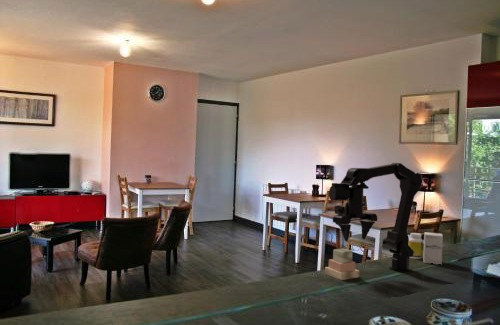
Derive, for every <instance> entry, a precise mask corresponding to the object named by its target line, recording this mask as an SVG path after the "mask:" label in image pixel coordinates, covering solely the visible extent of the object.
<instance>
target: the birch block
mask: <svg viewBox="0 0 500 325" xmlns="http://www.w3.org/2000/svg"><path fill="white" fill-rule="evenodd" d="M324 274H325V275H327V276H330V277H332V278H335V279H336V280H340V281H343V280H344V281H345V280H350V279H357V278H360V270H358V269H357V268H355V271H346V272H338V271H336V270H333V269H331V268H329V266H325V267H324Z"/></svg>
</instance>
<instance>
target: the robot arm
mask: <svg viewBox="0 0 500 325" xmlns="http://www.w3.org/2000/svg"><path fill="white" fill-rule="evenodd" d="M345 174H346V175H345V176H344V177H343V179H342V180H341V182H340V183H339V182H331V186H330V187H329V191H328V197H329V199H330V201H332V202H335V201H339V202H340V201H346V202H345V203H344V204H345V205H344V206H342V205H335V206H334V209H333V210H334V214H335V215H333V216H332V223H335V224H334V225H338V227H339V228H340V231H341V233H342V236H343V240H344V241H345V242H348V241H349V238H350V232H351V227H352V224H351V222H352V221H353V222H354V221H358V222H359V223H360V225H361V239H362V240H365V239H366V237H367V236H368V234H369V232H370V230H371V229H372V227H373V225H374V224H375V223H376V222H377V221H378V215H377V213H374V212H364V207H366V205H367V204H366V202H364V190H368V189H369V186H368V185H367V184H366V183H365V182H368V181H369V180H371V179H373V178H378V177H383V176H388V175H393V176H395V179H397V180H398V181H399V190H400V192H401V195H400V198H399V199H400V200H399V204H398V209H397V214H396V218H395V222H394V226H393V228H392V229H391V230H388V231H387V233H386V237H385V239H384V240H385V241H386V247H387V248H388V250H389V253H392V258H391V266H389V267H388V269H389V270H392V271H396V272H400V273H405V272H410V271H413V269H412V268H410V258H409V257H413V254H414V251H413V250H412V249H411V248H410V246H409V245H408V244H409V238H410V237H409V234H408V226H409V222H410V219H411V218H410V217H411V213H412V208H413V203H414V198H415V196H416V195H417V194H418V193H419V191H420V189H421V187H422V184H423V178H422V176H421V175H420V174H419V173H416V172H415V171H414V170H412V169H409V168H408V167H406V166H405V165H404V164H403V163H402V162H401V163H400V162H392V163H390V164H384V165H383V164H382V165H378V166H377V165H376V166H372V167H350V168H348V169H347V171H346V173H345Z"/></svg>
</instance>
